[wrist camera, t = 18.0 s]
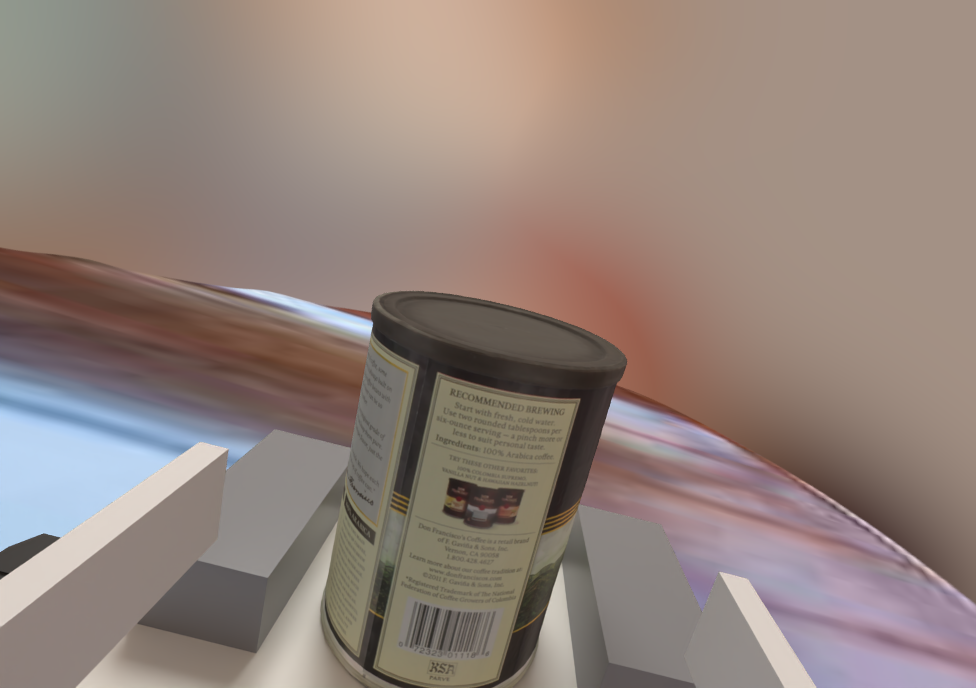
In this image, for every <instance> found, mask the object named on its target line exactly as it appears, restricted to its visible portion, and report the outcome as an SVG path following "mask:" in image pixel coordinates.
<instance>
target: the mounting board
mask: <svg viewBox="0 0 976 688" xmlns="http://www.w3.org/2000/svg"><path fill="white" fill-rule="evenodd" d="M337 523H338V521H337ZM337 523H336V524H335V526H334V527H333V529H332V531H331V532H330V534H329V536H328V537H327V539H326V541H325V542H324V544H323V545H322V547H321V549H320V550H319V552H318V554H317V555H316V557H315V558H314V560H313V562H312V563H311V565H310V567H309V568H308V570H307V572H306V573H305V575H304V576H303V578H302V580H301V581H300V583H299V585H298V586H297V588H296V589H295V591H294V593H293V594H292V596H291V598H290V599H289V601H288V603H287V604H286V606H285V607H284V609H283V611H282V612H281V614H280V616H279V617H278V619H277V620H276V622H275V624H274V625H273V627H272V629H271V630H270V632H269V634H268V635H267V637H266V638H265V640H264V642H263V643H262V645H261V647H260V648H259V650H258V651H257V653H253V652H249V651H245V650H240V649H236V648H232V647H228V646H224V645H220V644H216V643H212V642H208V641H204V640H200V639H196V638H192V637H188V636H184V635H180V634H176V633H172V632H168V631H164V630H160V629H156V628H152V627H148V626H144V625H140V624H136V625H135V626H134V627H133V628H132V629H131V630H130V631H129V632H128V633H127V634H126V635H125V636H124V637H123V639H122V640H121V641H120V642H119V643H118V644H117V645H116V646H115V647H114V648H113V649H112V650H111V651H110V652H109V653H108V654H107V655H106V656H105V657H104V658H103V660H102V661H101V662H100V663H99V664H98V665H97V666H96V667H95V668H94V669H93V670H92V671H91V672H90V673H89V674H88V675H87V676H86V677H85V678H84V679H83V681H82V682H81V683H80V684H79V685H78V686H77V687H76V688H369V687H367V686H366V685H364V684H363V683H361V682H360V681H359V680H358V679H357V678H355V677H354V676H353V675H352V674H350V673H349V672H348V671H347V670H346V669H345V667H344V666H343V665H342V663H341V662H340V661H339V660H338V659H337V657H336V655H335V654H334V652H333V650H332V648H331V647H330V645H329V644H328V642H327V640H326V638H325V634H324V629H323V626H322V621H321V600H322V596H323V591H324V588H325V586H326V582H327V578H328V573H329V567H330V561H331V556H332V550H333V545H334V539H335V534H336V528H337ZM512 688H577V682H576V674H575V665H574V657H573V649H572V641H571V633H570V625H569V616H568V608H567V600H566V592H565V584H564V576H563V567H562V562H561V565H560V568H559V572H558V575H557V578H556V582H555V584H554V587H553V590H552V594H551V598H550V601H549V604H548V607H547V611H546V614H545V618H544V622H543V625H542V628H541V631H540V634H539V642H538V647H537V650H536V654H535V657H534V659H533V661H532V663H531V665H530V667H529V669H528V670H527V672H526V673H525V675H524V676H523V677H522V678H521V679H520V681H519V682H517V683H516V684H515V685H514V686H513V687H512Z"/></svg>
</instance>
